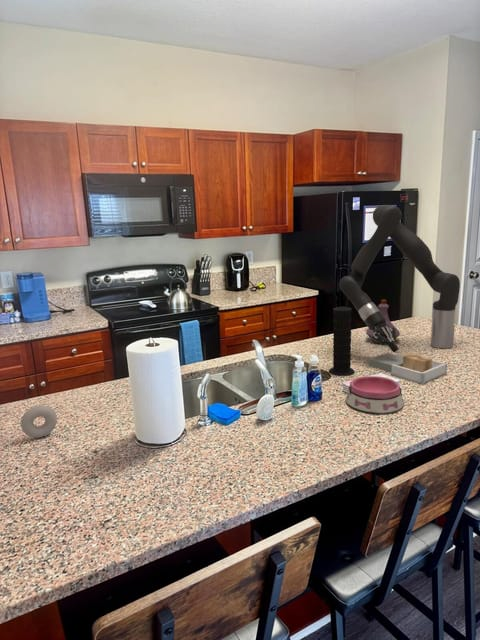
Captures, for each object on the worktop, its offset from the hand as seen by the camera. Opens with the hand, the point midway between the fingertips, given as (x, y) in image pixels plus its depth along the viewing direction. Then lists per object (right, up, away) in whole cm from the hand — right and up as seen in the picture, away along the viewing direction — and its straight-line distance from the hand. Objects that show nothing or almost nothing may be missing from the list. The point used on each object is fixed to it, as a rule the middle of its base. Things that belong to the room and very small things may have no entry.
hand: (396, 351), depth 175 cm
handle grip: (-22, -8, 0) cm, 23 cm away
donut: (-122, -23, -42) cm, 131 cm away
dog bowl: (-18, -15, -29) cm, 37 cm away
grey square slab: (-1, -6, +4) cm, 7 cm away
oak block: (+3, -4, -3) cm, 6 cm away
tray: (+6, -8, -6) cm, 12 cm away
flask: (+7, +2, +38) cm, 39 cm away
